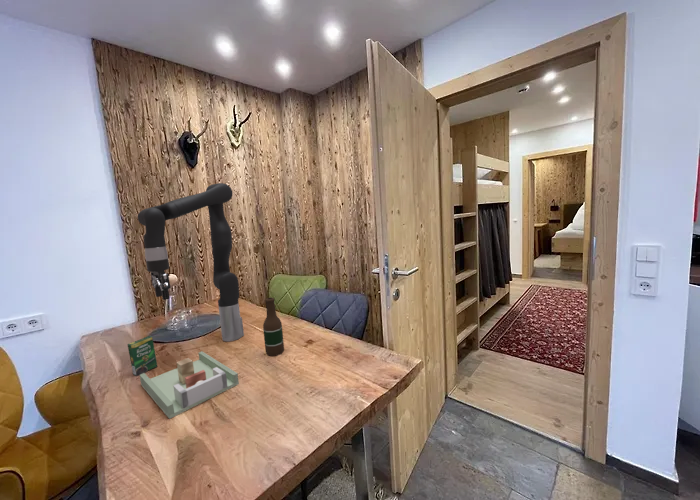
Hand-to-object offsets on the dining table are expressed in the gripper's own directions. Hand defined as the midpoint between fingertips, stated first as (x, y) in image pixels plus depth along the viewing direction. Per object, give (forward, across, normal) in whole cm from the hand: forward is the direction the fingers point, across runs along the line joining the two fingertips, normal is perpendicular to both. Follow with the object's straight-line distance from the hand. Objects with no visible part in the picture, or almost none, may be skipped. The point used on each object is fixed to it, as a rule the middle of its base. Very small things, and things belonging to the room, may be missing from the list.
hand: (162, 297), depth 119 cm
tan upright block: (+27, -26, +2) cm, 38 cm away
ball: (+25, -35, +2) cm, 43 cm away
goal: (+28, -36, +2) cm, 45 cm away
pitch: (+28, -24, +2) cm, 37 cm away
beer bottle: (+28, -29, -31) cm, 51 cm away
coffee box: (+28, +2, +9) cm, 30 cm away
